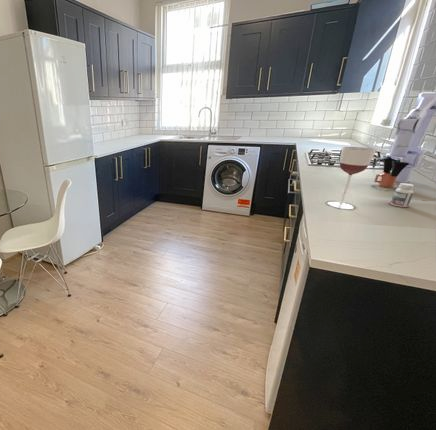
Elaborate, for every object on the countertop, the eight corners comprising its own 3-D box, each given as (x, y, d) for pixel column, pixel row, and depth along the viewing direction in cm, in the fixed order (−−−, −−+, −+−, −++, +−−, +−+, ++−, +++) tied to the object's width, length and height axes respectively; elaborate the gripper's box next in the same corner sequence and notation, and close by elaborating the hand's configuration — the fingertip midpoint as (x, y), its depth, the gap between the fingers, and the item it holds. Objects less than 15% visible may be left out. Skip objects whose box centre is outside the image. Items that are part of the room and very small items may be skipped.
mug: (390, 185, 138) (395, 172, 136) (395, 188, 133) (401, 174, 131) (370, 183, 141) (374, 170, 138) (375, 186, 136) (380, 173, 133)
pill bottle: (400, 203, 117) (408, 182, 113) (411, 207, 112) (420, 186, 108) (386, 202, 117) (394, 182, 114) (397, 207, 112) (405, 185, 109)
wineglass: (361, 210, 109) (382, 150, 101) (332, 208, 111) (350, 150, 102) (347, 202, 118) (366, 147, 109) (321, 200, 119) (337, 146, 111)
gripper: (382, 143, 137) (373, 170, 142) (397, 147, 124) (386, 177, 129) (401, 144, 135) (390, 171, 140) (418, 148, 122) (406, 178, 127)
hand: (390, 174), depth 134 cm, fingers open, 7 cm apart
